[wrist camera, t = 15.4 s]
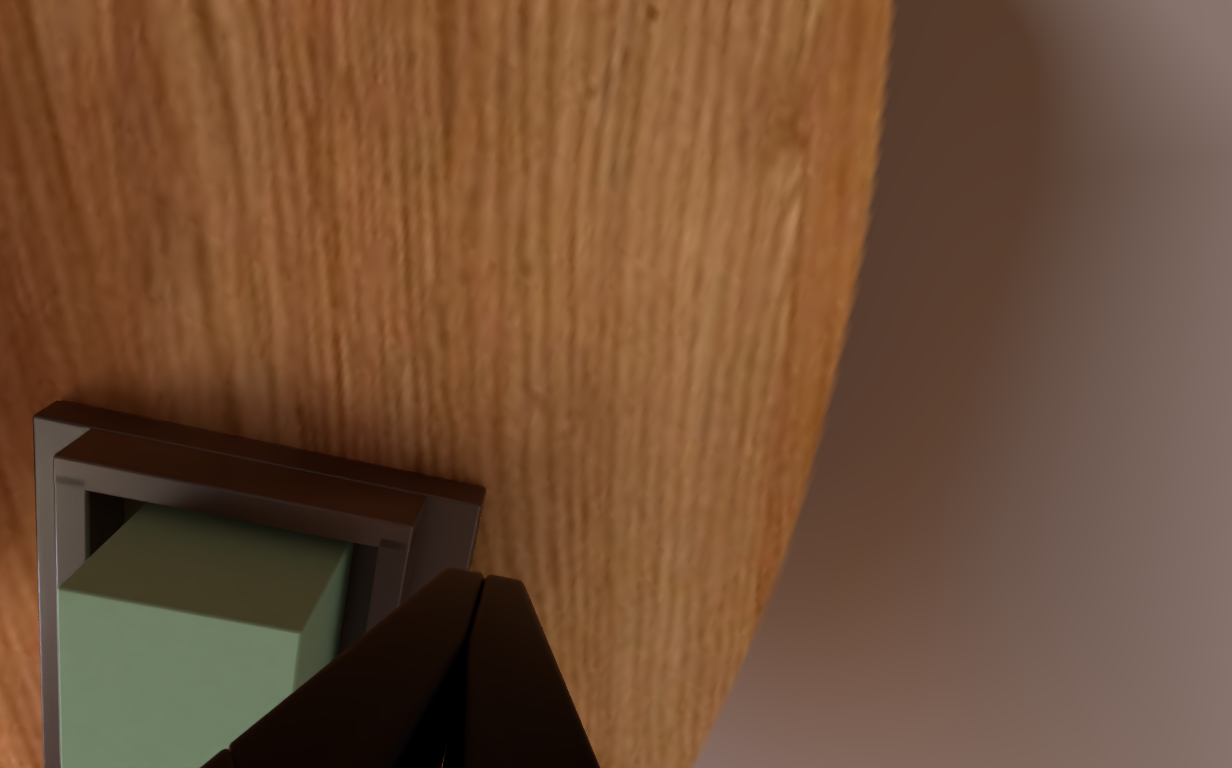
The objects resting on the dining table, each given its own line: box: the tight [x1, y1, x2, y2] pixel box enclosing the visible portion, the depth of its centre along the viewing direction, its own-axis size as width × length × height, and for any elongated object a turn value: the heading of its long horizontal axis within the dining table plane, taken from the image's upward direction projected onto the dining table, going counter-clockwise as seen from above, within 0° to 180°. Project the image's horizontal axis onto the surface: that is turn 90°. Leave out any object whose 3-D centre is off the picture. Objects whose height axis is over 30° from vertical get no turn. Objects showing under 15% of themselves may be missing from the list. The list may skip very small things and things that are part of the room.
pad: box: [57, 503, 354, 768], centre depth 20 cm, size 5×7×4 cm
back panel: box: [33, 401, 486, 768], centre depth 21 cm, size 11×17×5 cm, turn 166°
